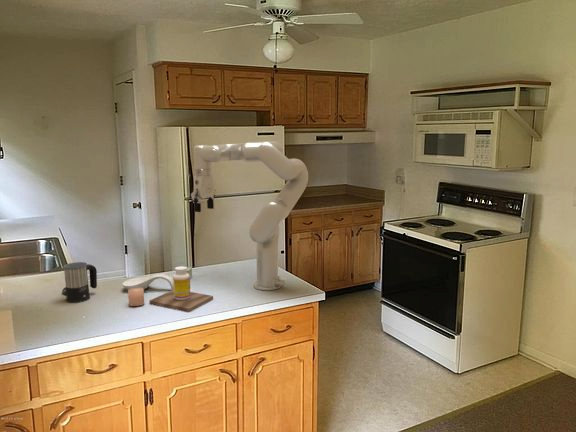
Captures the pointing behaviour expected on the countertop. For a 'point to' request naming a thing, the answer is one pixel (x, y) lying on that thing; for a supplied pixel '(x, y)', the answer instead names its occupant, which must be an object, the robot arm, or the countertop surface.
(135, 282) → the spoon rest
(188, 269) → the sage block
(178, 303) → the walnut board
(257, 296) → the countertop surface
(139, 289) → the peach rounded capsule
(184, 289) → the supplement bottle
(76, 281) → the milk frother
